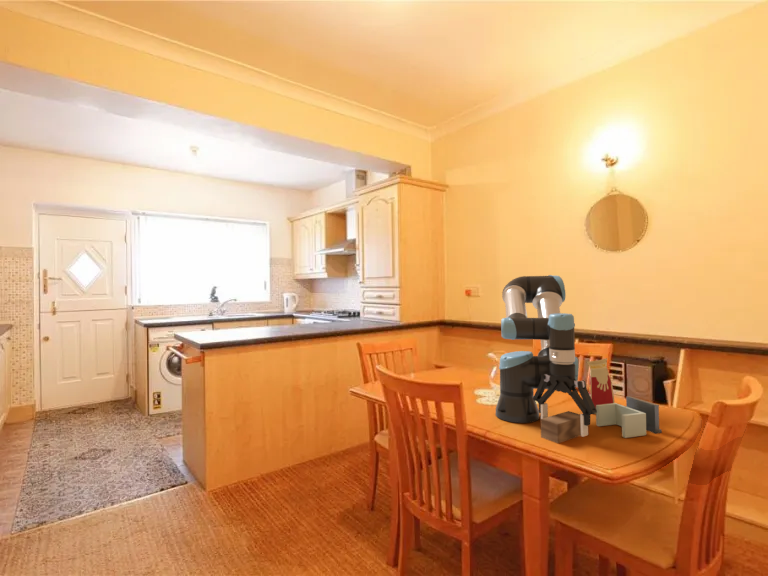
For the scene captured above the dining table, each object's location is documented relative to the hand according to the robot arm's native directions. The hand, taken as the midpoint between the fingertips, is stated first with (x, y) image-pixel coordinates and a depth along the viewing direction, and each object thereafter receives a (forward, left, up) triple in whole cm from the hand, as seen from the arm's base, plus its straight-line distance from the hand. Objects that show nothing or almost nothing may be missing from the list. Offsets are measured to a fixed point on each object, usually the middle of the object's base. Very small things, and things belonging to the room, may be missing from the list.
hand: (563, 429), depth 128 cm
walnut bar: (0, 0, -2) cm, 2 cm away
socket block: (+17, +10, -2) cm, 20 cm away
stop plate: (+25, +15, -2) cm, 29 cm away
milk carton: (+14, +30, -2) cm, 34 cm away
